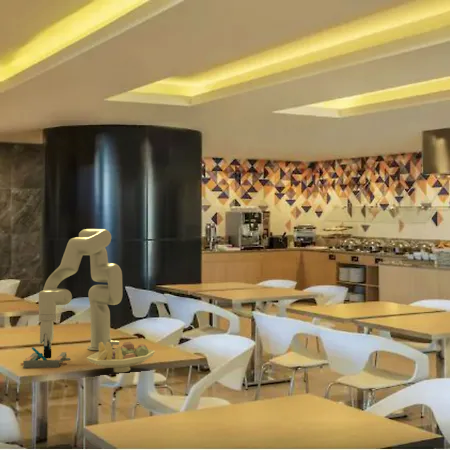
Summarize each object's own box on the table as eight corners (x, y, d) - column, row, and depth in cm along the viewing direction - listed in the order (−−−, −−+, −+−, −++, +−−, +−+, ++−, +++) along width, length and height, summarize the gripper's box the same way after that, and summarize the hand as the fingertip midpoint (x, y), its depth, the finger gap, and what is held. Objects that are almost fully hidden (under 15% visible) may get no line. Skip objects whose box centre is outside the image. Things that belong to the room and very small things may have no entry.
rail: (71, 357, 349) (71, 350, 349) (64, 367, 325) (64, 360, 325) (28, 358, 347) (28, 351, 347) (17, 368, 323) (17, 361, 323)
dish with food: (80, 378, 302) (80, 342, 302) (95, 364, 330) (94, 332, 330) (149, 378, 301) (149, 342, 301) (158, 364, 329) (158, 332, 329)
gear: (50, 361, 328) (33, 346, 328) (40, 372, 327) (23, 356, 326) (50, 360, 339) (34, 345, 339) (41, 370, 338) (25, 355, 337)
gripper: (41, 315, 347) (41, 355, 348) (36, 319, 333) (36, 361, 333) (58, 315, 348) (58, 355, 348) (53, 319, 333) (53, 361, 333)
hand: (47, 358), depth 340 cm, fingers closed
